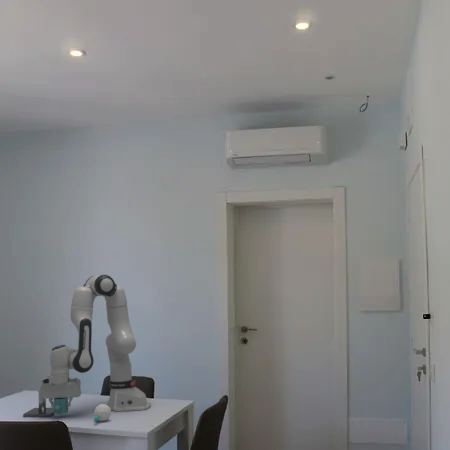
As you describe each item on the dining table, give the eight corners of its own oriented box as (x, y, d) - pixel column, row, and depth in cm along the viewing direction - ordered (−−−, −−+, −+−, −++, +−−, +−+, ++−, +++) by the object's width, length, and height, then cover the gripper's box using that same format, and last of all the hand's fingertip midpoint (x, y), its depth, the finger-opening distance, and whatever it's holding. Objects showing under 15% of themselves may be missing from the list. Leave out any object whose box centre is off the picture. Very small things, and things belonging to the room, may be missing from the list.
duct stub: (60, 410, 307) (60, 387, 308) (50, 416, 293) (50, 393, 294) (34, 410, 308) (34, 388, 309) (23, 417, 294) (23, 393, 295)
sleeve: (57, 410, 296) (56, 396, 296) (69, 410, 295) (69, 396, 296) (50, 415, 286) (49, 401, 287) (62, 415, 286) (62, 400, 286)
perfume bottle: (116, 411, 285) (107, 420, 273) (104, 420, 286) (94, 430, 275) (107, 398, 286) (97, 407, 274) (94, 408, 287) (84, 417, 275)
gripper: (82, 376, 296) (83, 404, 295) (42, 378, 297) (43, 406, 296) (78, 379, 289) (79, 407, 288) (37, 380, 291) (38, 409, 290)
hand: (60, 406), depth 292 cm, fingers closed on sleeve, 6 cm apart
